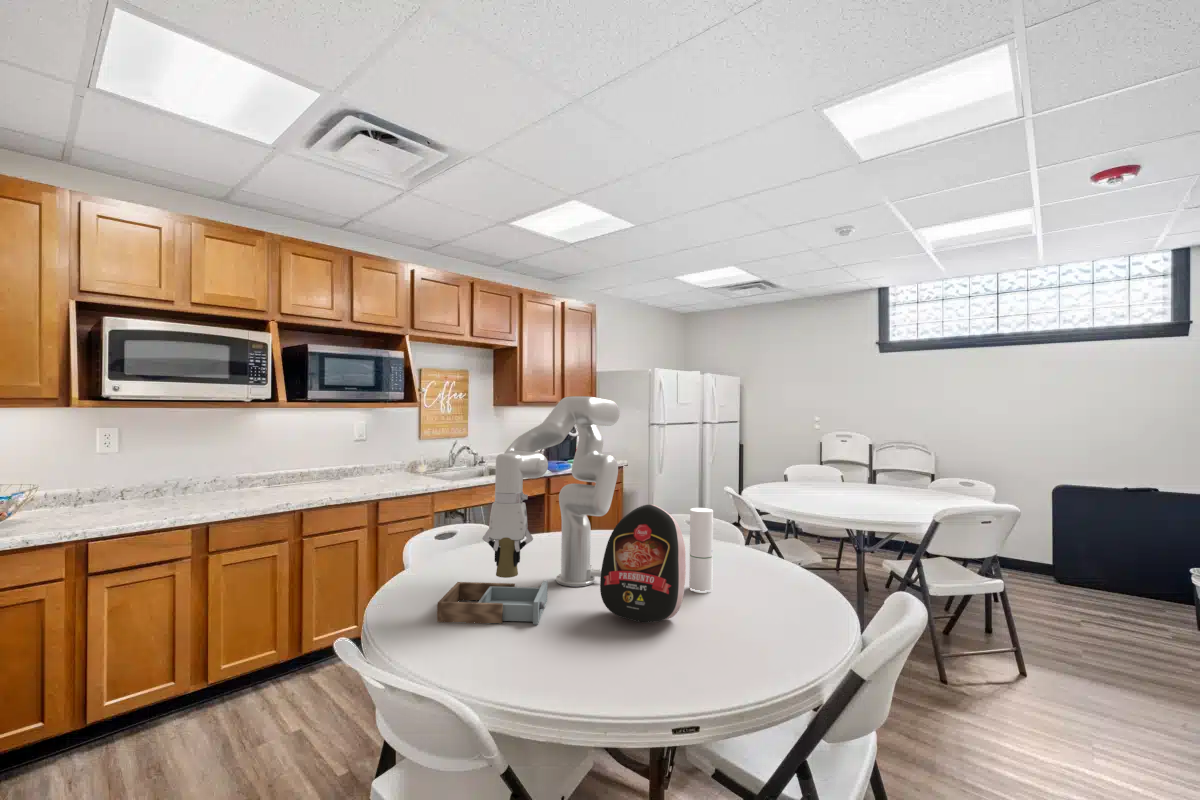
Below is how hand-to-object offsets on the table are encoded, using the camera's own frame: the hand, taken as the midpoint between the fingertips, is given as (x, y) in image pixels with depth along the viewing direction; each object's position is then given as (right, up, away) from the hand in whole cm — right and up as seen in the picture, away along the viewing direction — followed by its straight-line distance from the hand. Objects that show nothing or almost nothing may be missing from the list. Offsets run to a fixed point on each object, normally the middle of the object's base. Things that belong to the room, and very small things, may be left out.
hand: (507, 564), depth 147 cm
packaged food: (+37, -14, -3) cm, 40 cm away
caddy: (-8, -13, 0) cm, 15 cm away
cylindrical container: (+57, -14, +20) cm, 63 cm away
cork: (0, -3, 0) cm, 3 cm away
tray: (+2, -13, 0) cm, 13 cm away
